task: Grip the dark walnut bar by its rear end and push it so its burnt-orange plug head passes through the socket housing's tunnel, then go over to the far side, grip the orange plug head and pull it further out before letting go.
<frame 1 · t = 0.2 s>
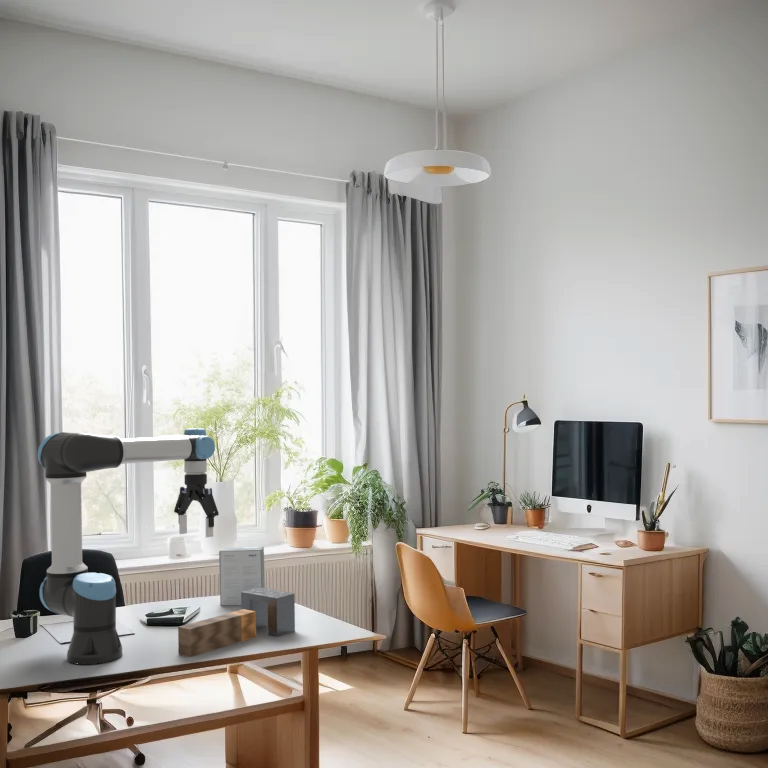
hand: (196, 535, 298), 28 cm above the table, tool pointing down, fingers open, 13 cm apart
socket housing: (268, 630, 279), on the table
hard drive box: (242, 603, 317), on the table
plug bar: (242, 638, 270), on the table
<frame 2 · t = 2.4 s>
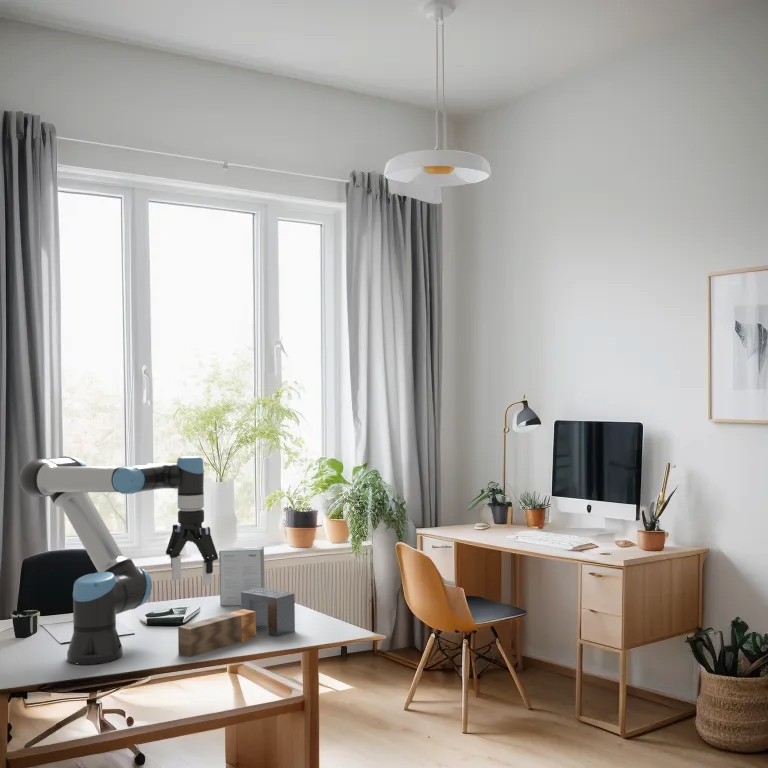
hand: (191, 582, 255), 21 cm above the table, tool pointing down, fingers open, 13 cm apart
nothing on the table moved.
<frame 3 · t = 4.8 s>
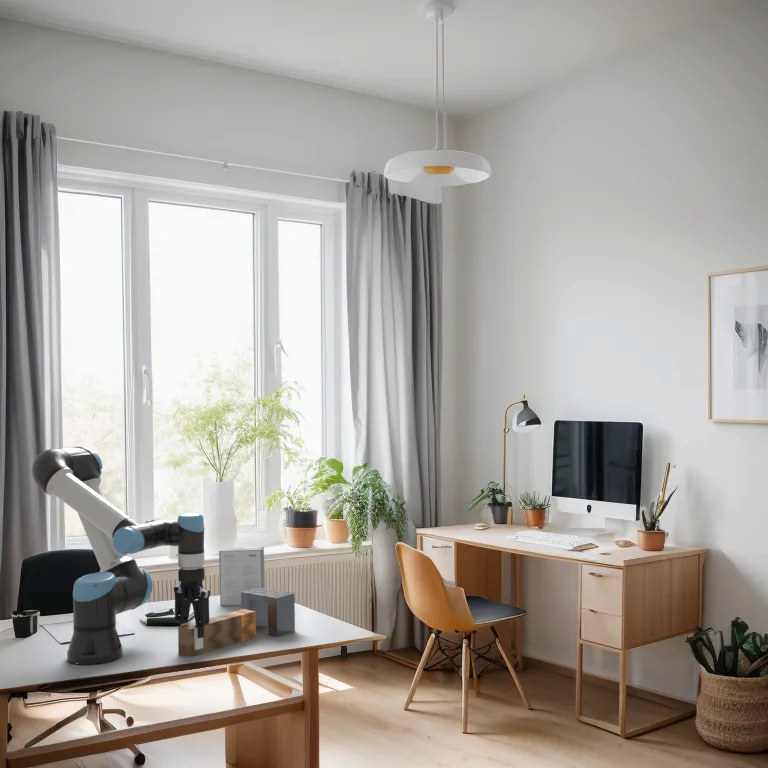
hand: (192, 647, 254), 2 cm above the table, tool pointing down, fingers closed on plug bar, 5 cm apart
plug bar: (242, 637, 270), on the table, touching gripper
everything else where it was.
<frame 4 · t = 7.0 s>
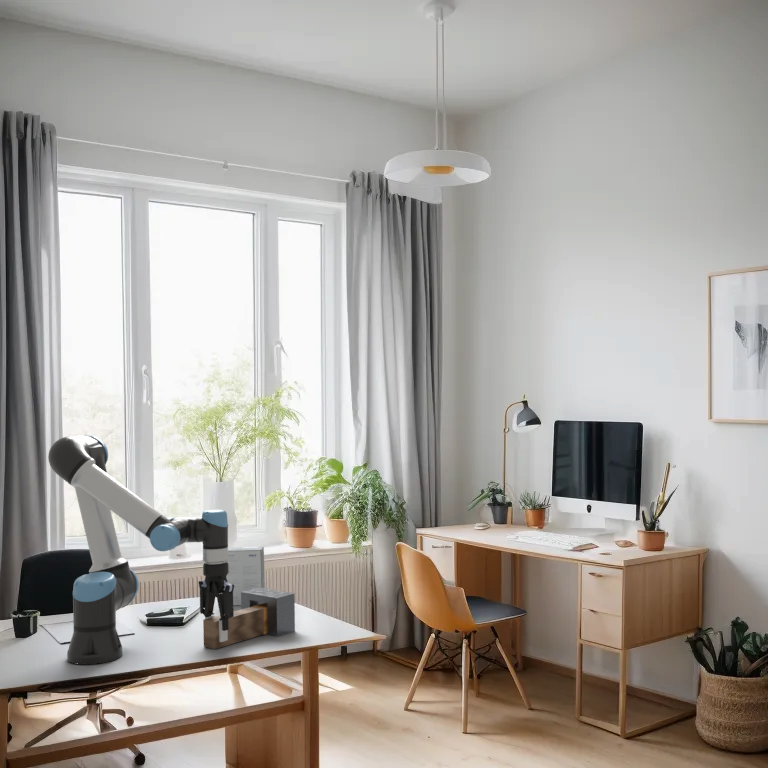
hand: (217, 639, 261), 2 cm above the table, tool pointing down, fingers closed on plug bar, 5 cm apart
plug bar: (265, 630, 277), on the table, touching gripper
everything else where it was.
when the fingers open (2 cm above the table, at t = 9.4 s): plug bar stays where it is, on the table.
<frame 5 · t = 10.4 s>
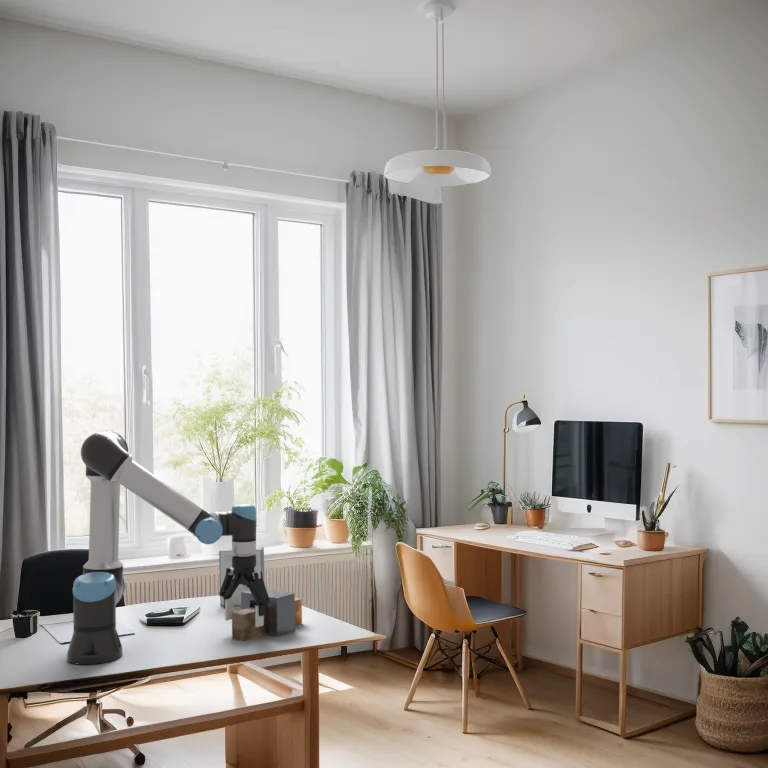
hand: (244, 623, 271), 4 cm above the table, tool pointing down, fingers open, 13 cm apart
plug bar: (289, 623, 286), on the table
everything else where it was.
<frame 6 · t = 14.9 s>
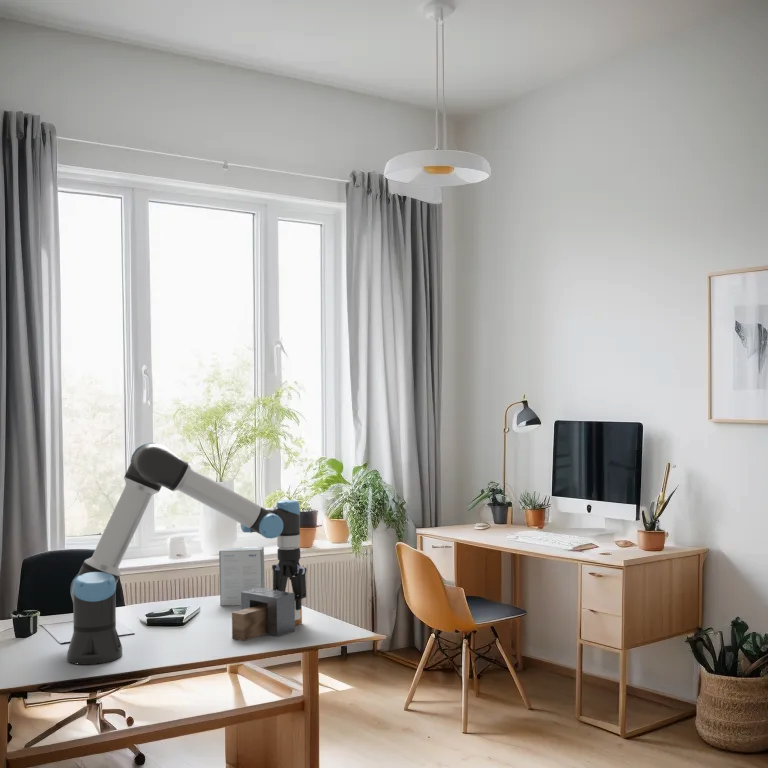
hand: (289, 618, 287), 2 cm above the table, tool pointing down, fingers closed on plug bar, 5 cm apart
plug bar: (289, 623, 286), on the table, touching gripper
everything else where it was.
when the fingers open (2 cm above the table, at t = 16.5 s): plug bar stays where it is, on the table.
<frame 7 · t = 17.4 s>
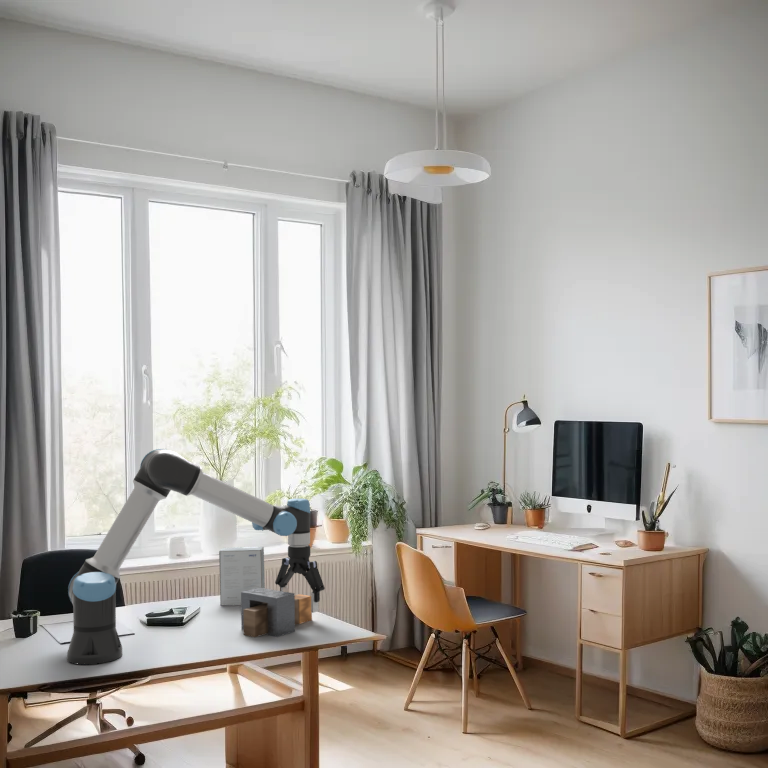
hand: (299, 609, 291), 4 cm above the table, tool pointing down, fingers open, 13 cm apart
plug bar: (299, 620, 290), on the table
everything else where it was.
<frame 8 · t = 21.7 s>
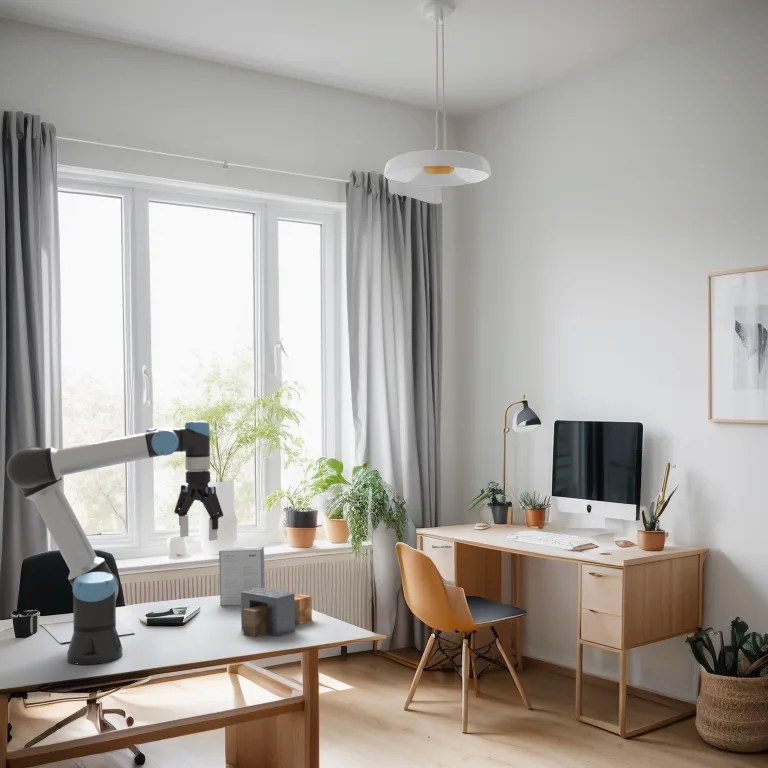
hand: (198, 538, 272), 31 cm above the table, tool pointing down, fingers open, 13 cm apart
nothing on the table moved.
at the end: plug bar 0.7 cm from the target spot on the table beside the socket housing, on the table; the gripper is holding nothing; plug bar tilted 0° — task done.
